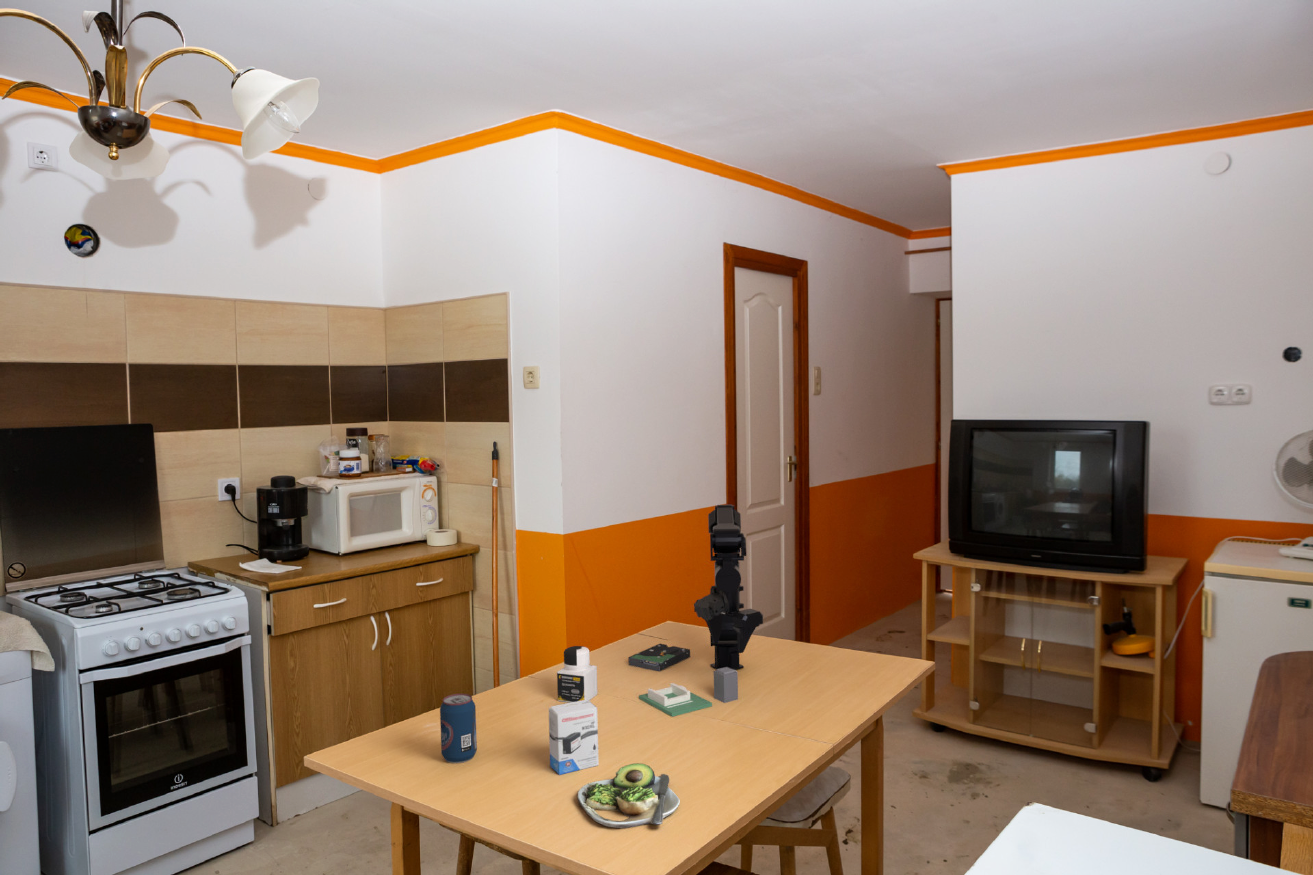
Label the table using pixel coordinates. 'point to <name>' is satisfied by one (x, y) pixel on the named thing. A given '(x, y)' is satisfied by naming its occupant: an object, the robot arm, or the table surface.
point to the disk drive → (659, 657)
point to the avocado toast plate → (630, 797)
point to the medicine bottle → (577, 676)
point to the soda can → (458, 728)
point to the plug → (725, 685)
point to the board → (674, 700)
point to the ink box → (573, 736)
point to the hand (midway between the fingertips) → (728, 648)
